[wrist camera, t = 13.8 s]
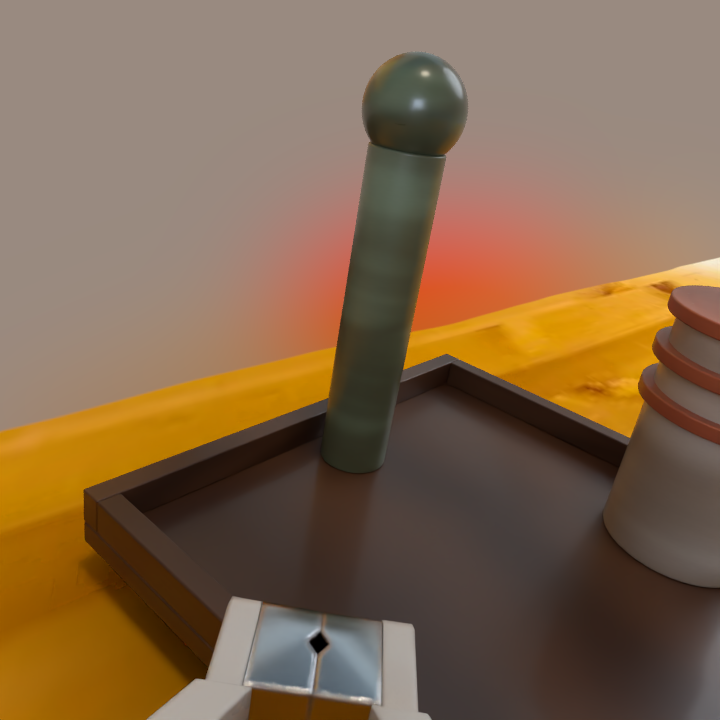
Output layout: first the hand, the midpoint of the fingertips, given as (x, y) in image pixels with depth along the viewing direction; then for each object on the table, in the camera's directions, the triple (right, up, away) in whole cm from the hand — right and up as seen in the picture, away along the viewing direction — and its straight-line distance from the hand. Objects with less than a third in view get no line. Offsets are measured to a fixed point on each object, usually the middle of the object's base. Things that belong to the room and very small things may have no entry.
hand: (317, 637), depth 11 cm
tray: (+6, -3, +12) cm, 14 cm away
